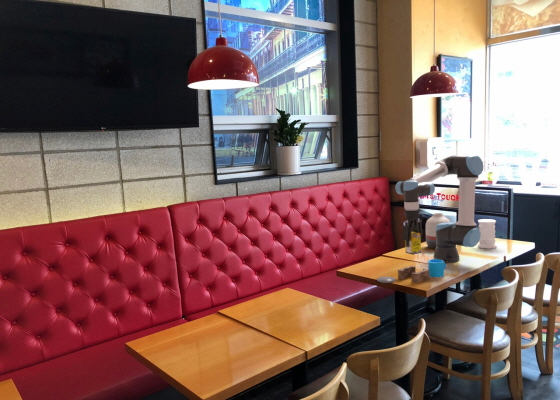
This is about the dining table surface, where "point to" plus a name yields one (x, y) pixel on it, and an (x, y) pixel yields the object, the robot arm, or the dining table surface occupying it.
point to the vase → (434, 228)
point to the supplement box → (415, 243)
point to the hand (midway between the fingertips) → (413, 251)
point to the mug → (436, 267)
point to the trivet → (386, 279)
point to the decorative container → (487, 233)
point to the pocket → (413, 274)
